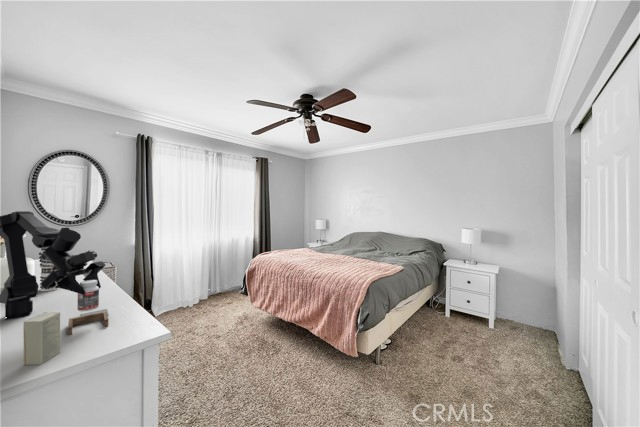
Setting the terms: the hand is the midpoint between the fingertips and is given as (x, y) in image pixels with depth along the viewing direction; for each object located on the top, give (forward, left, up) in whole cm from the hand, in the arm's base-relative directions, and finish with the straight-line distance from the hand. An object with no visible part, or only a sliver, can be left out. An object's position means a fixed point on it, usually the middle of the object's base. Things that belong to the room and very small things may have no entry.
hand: (92, 290), depth 92 cm
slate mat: (+1, +12, -13) cm, 18 cm away
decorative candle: (-14, +69, -13) cm, 72 cm away
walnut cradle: (-1, +1, -13) cm, 13 cm away
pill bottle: (-1, +1, -7) cm, 7 cm away
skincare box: (-11, -17, -13) cm, 24 cm away
